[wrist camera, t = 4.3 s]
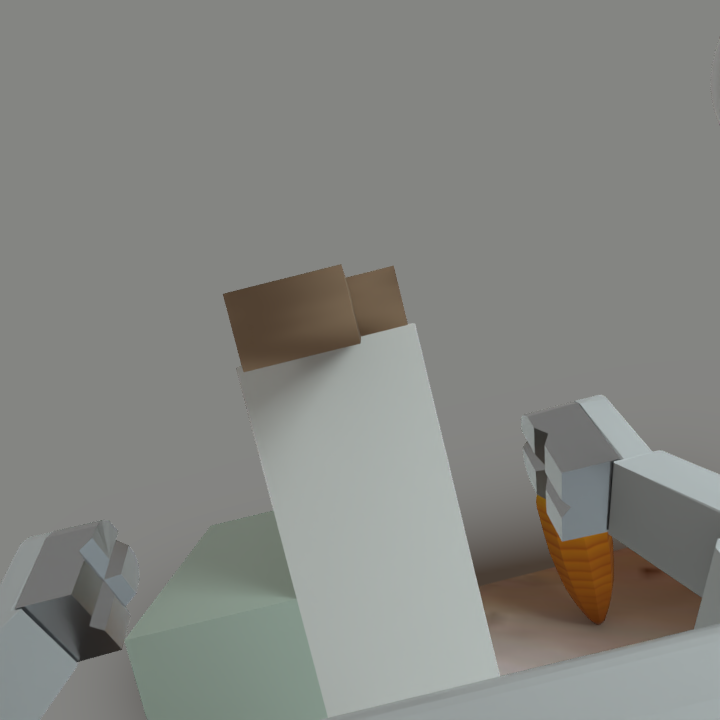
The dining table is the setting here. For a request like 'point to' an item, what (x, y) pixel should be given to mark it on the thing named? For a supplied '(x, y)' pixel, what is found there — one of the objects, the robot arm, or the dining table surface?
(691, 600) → the dining table surface
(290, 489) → the white two-tone stepped block
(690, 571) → the robot arm
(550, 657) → the dining table surface
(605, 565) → the carrot
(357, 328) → the brown block
